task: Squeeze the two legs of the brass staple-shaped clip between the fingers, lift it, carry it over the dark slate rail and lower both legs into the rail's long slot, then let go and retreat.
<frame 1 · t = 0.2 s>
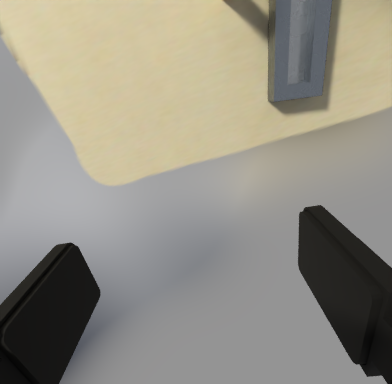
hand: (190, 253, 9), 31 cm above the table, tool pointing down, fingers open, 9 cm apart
rail: (293, 21, 31), on the table
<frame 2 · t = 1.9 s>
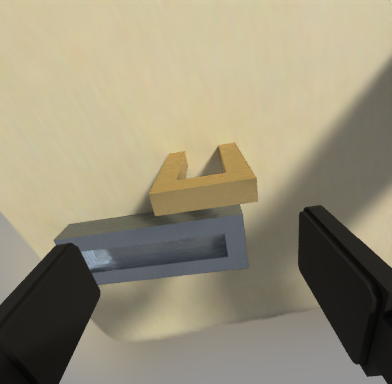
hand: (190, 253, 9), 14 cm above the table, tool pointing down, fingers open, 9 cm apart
rail: (157, 237, 26), on the table
clip: (202, 156, 22), on the table
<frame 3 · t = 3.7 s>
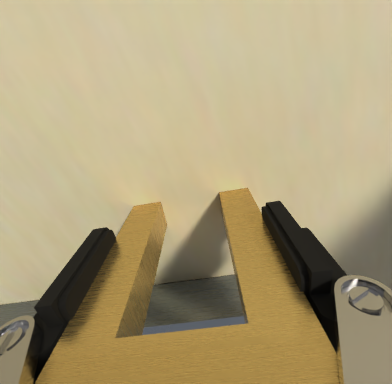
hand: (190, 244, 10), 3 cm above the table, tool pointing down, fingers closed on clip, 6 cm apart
rail: (125, 322, 17), on the table
clip: (192, 209, 13), on the table, touching gripper
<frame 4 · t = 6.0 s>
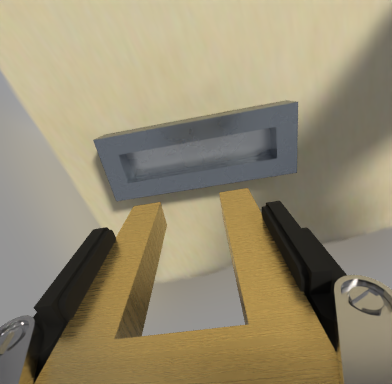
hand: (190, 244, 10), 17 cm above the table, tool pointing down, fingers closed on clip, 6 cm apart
rail: (197, 149, 25), on the table
clip: (192, 209, 13), point 14 cm above the table, touching gripper
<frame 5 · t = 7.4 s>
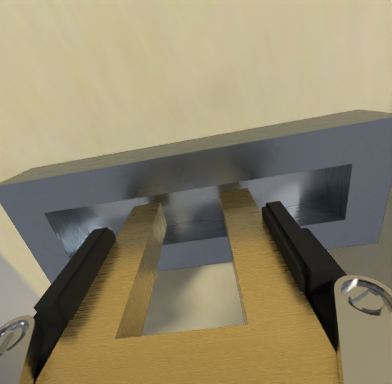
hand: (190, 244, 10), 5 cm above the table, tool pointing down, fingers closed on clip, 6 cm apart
rail: (195, 192, 14), on the table
clip: (192, 209, 13), point 2 cm above the table, touching gripper
when the fingers open (5 cm above the table, at t = 8.4 s): clip stays where it is, resting on rail.
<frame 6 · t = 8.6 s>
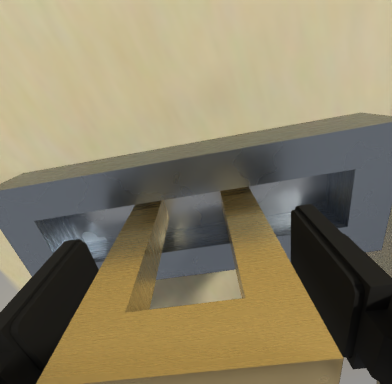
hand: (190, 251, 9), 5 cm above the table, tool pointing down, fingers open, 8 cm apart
rail: (192, 198, 14), on the table
clip: (193, 203, 13), point 1 cm above the table, touching rail
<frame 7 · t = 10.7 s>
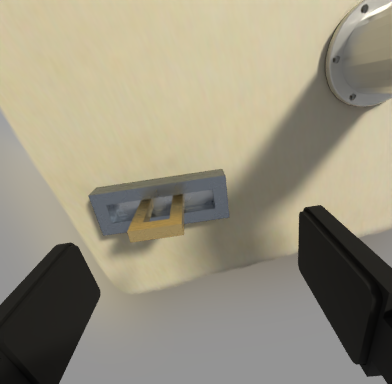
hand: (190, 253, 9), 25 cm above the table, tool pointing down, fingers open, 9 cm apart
rail: (163, 198, 35), on the table
clip: (163, 200, 34), point 1 cm above the table, touching rail
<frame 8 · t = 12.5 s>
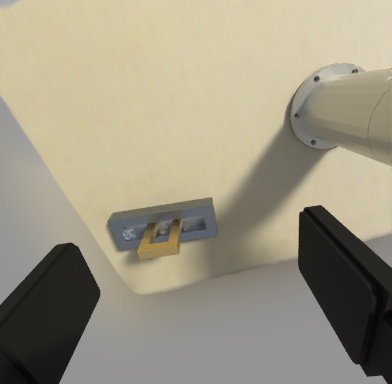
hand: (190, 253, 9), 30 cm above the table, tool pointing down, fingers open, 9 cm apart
rail: (165, 220, 44), on the table
clip: (165, 222, 43), point 1 cm above the table, touching rail
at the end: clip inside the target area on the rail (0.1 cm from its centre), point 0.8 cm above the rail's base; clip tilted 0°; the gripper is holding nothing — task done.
